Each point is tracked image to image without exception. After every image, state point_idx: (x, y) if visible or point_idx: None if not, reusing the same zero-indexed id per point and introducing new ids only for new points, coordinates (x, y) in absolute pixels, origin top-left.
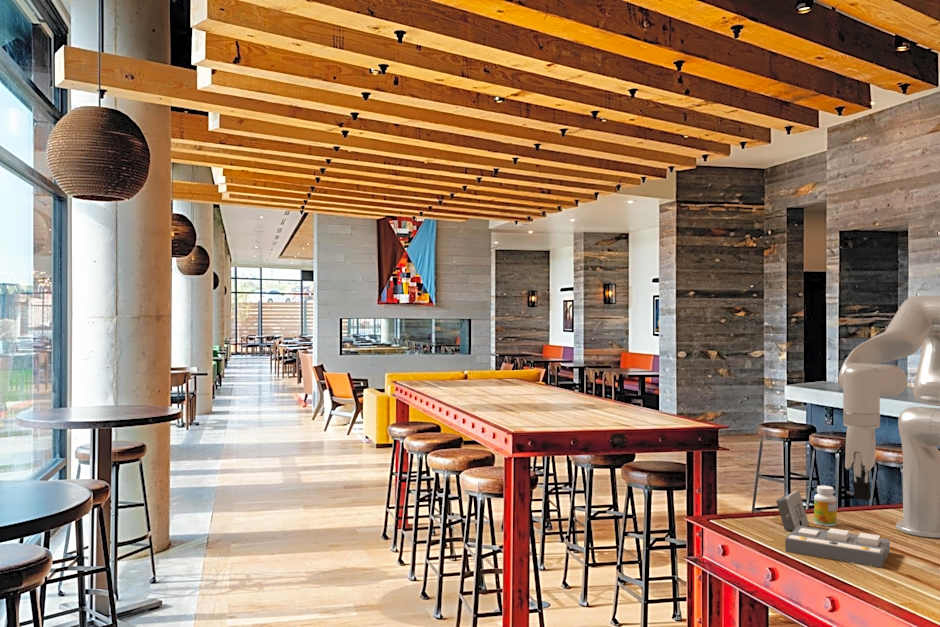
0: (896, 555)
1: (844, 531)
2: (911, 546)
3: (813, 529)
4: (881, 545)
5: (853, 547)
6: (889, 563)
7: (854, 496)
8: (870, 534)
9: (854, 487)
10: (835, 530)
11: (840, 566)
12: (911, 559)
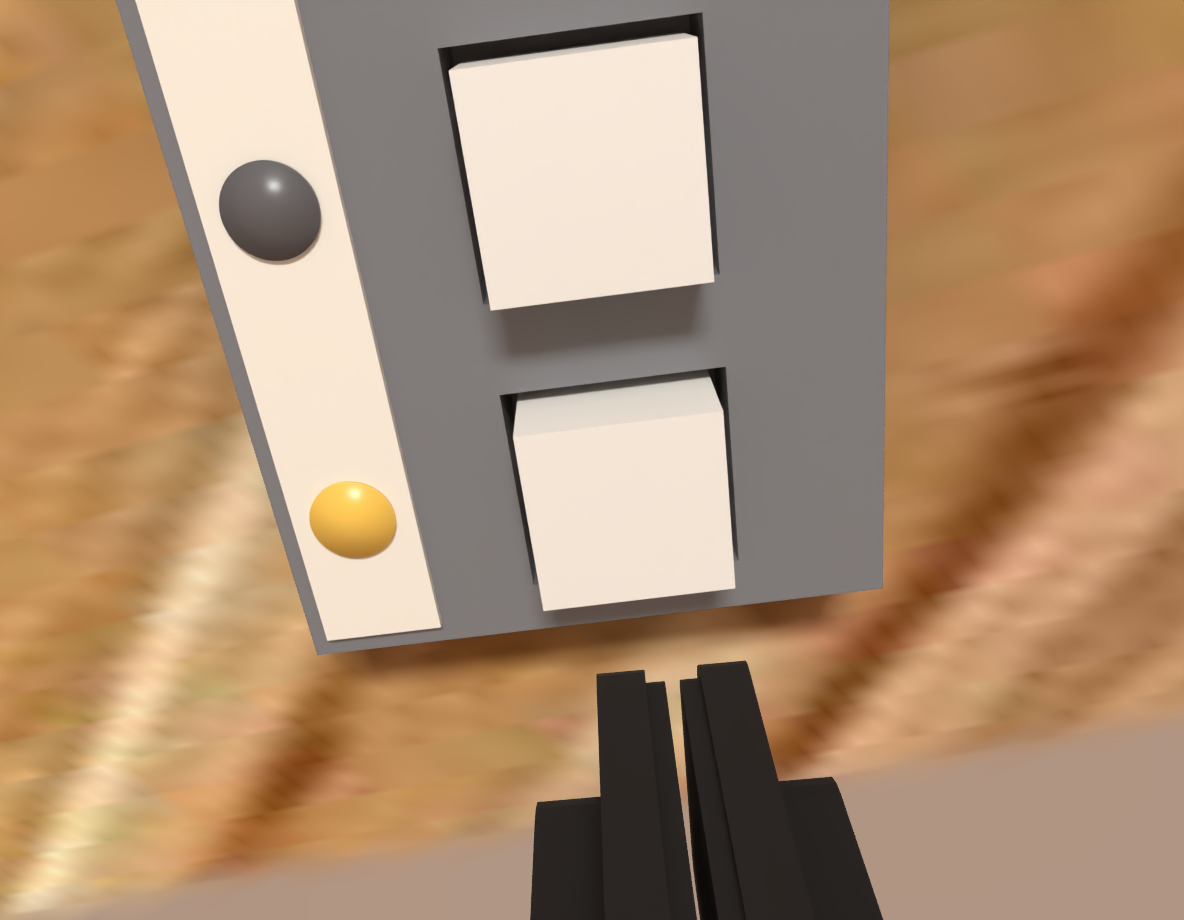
0: None
1: (647, 246)
2: (1145, 603)
3: None
4: None
5: (292, 428)
6: None
7: (597, 702)
8: (713, 508)
9: (606, 871)
10: (614, 137)
11: (90, 324)
12: None
